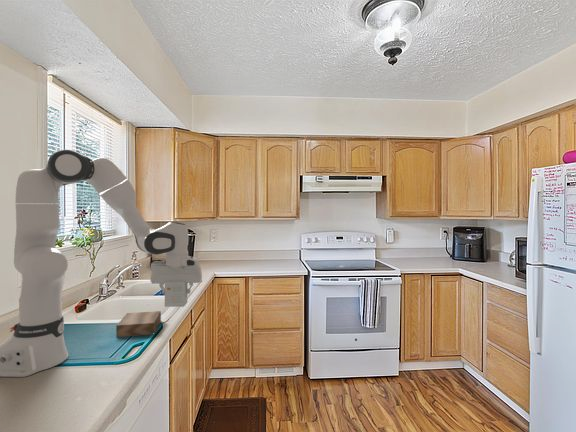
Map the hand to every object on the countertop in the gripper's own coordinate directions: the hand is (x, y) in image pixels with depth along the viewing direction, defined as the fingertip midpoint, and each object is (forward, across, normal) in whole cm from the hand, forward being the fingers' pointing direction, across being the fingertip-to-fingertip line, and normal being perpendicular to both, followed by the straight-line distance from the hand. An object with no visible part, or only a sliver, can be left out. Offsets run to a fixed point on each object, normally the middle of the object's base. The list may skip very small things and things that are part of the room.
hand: (176, 293), depth 129 cm
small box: (+5, 0, 0) cm, 5 cm away
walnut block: (+16, -15, +4) cm, 23 cm away
